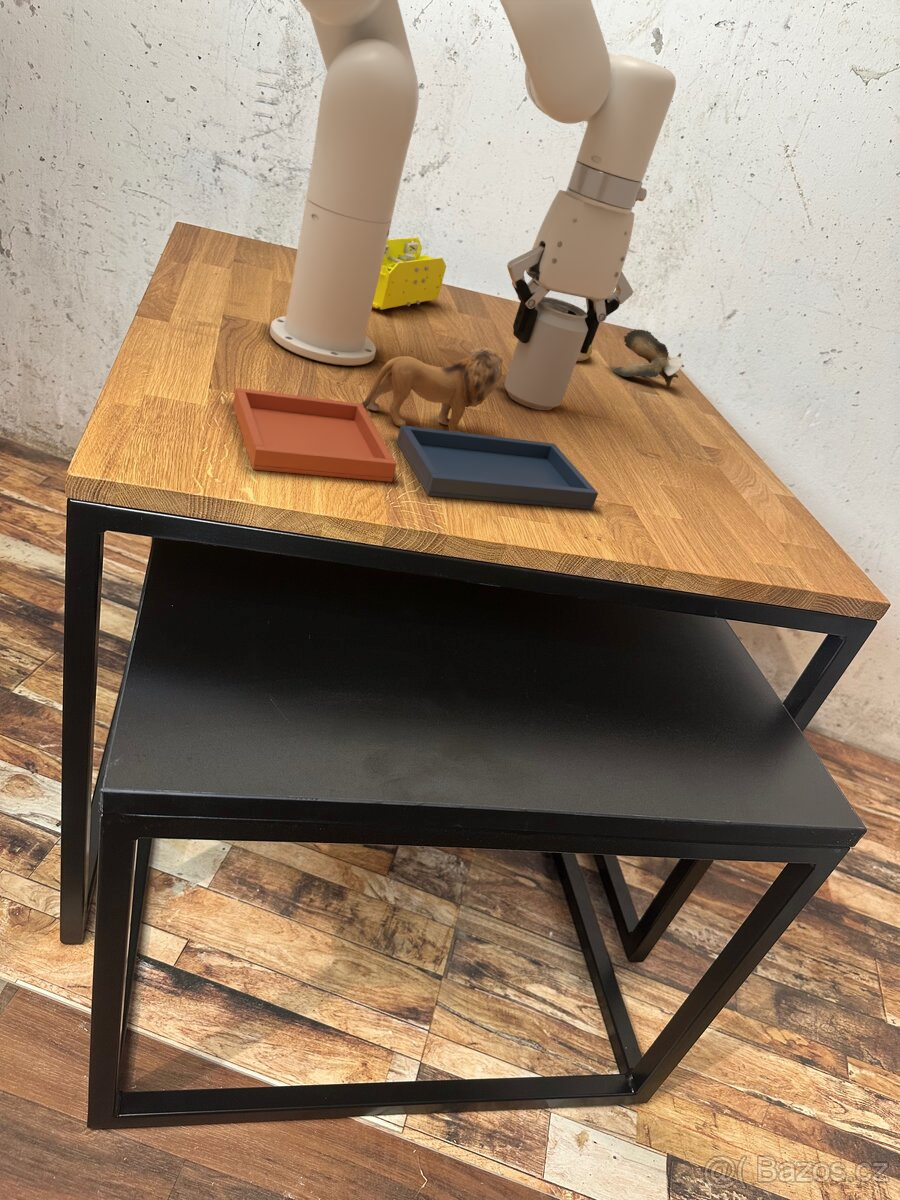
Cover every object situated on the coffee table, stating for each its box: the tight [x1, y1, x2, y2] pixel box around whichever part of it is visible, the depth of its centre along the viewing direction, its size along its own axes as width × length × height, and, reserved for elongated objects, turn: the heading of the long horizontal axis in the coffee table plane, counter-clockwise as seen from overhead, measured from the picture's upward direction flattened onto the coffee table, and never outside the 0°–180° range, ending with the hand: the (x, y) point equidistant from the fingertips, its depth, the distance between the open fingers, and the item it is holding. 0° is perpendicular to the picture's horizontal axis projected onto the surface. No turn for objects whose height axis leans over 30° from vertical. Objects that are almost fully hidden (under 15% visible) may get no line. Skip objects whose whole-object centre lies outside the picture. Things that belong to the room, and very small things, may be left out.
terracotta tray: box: [232, 387, 397, 483], centre depth 80 cm, size 13×13×2 cm
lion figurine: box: [360, 346, 504, 432], centre depth 90 cm, size 15×5×9 cm, turn 110°
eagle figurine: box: [612, 328, 685, 389], centre depth 128 cm, size 8×7×9 cm
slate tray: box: [396, 425, 599, 511], centre depth 85 cm, size 11×18×2 cm, turn 109°
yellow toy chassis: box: [372, 237, 447, 311], centre depth 125 cm, size 16×6×8 cm, turn 150°
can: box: [503, 296, 588, 411], centre depth 105 cm, size 8×8×12 cm
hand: (550, 343), depth 104 cm, fingers closed on can, 7 cm apart
